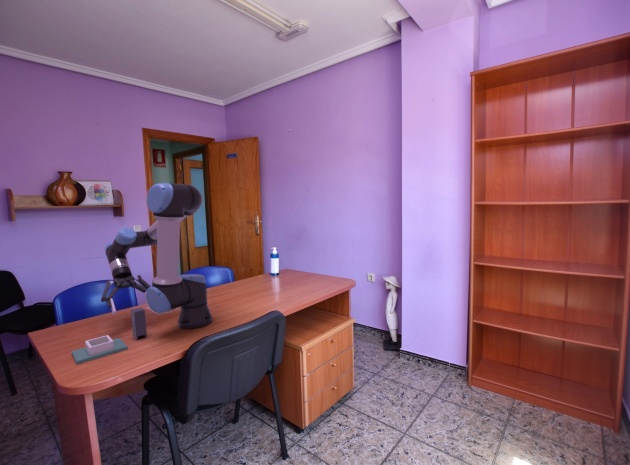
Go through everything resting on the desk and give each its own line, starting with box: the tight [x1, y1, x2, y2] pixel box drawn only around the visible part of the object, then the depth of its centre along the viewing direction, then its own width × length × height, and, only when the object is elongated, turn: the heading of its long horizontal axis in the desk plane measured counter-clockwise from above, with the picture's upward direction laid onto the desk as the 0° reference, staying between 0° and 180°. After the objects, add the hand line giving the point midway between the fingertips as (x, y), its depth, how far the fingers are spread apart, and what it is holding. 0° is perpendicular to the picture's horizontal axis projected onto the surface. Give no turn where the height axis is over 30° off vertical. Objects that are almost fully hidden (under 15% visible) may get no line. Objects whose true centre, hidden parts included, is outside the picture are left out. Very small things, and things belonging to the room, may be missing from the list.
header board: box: [71, 334, 129, 365], centre depth 121 cm, size 16×12×4 cm
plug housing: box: [130, 307, 148, 341], centre depth 134 cm, size 4×5×12 cm
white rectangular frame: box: [146, 306, 179, 316], centre depth 173 cm, size 11×1×18 cm
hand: (132, 309), depth 137 cm, fingers open, 13 cm apart
